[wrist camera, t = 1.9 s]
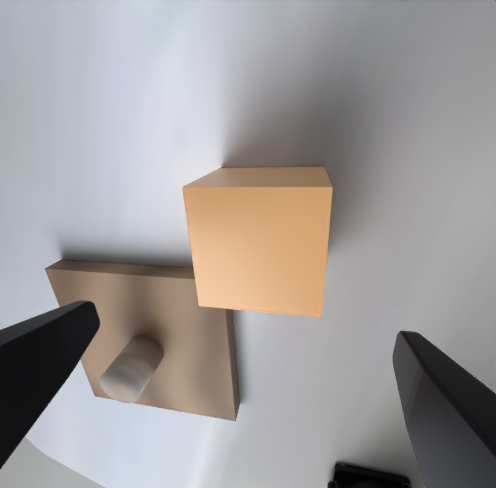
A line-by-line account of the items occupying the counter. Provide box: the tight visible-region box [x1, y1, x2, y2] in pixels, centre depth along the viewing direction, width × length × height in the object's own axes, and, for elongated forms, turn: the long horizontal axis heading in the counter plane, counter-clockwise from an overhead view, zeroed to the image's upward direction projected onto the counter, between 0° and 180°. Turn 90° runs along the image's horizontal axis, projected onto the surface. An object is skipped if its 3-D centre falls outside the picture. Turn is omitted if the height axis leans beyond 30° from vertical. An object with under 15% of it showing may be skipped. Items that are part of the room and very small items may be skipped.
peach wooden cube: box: [182, 166, 333, 317], centre depth 14 cm, size 6×6×6 cm
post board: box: [45, 260, 240, 421], centre depth 21 cm, size 14×14×5 cm
